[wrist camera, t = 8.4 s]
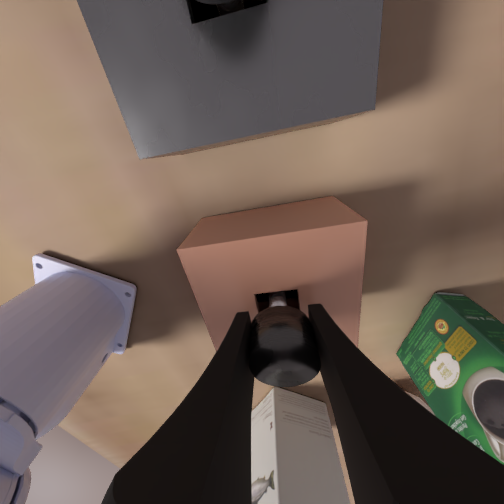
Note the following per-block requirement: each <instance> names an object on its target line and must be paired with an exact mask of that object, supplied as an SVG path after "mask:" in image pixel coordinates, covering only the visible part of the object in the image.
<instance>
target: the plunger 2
mask: <svg viewBox="0 0 504 504" xmlns="http://www.w3.org/2000/svg"><path fill="white" fill-rule="evenodd" d="M320 368H321V359H320V356H319V352H318V349H317V345H316V341H315V338H314V334H313V331H312V327H311V323H310V320H309V318H308V317H307V316H306V314H305V313H303V312H302V311H301V310H299V309H297V308H294V307H290V306H287V302H286V296H285V291H277V292H269V308H266V309H264V310H262V311H261V312H259V313H258V314H257V315H256V316H255V317H254V319H253V320H252V323H251V334H250V351H249V369H250V372H251V373H252V375H253V376H254V377H255V378H256V379H258V380H259V381H261V382H263V383H265V384H268V385H271V386H277V387H293V386H298V385H301V384H304V383H306V382H308V381H310V380H312V379H313V378H314V377H315V376H316V375H317V374H318V373H319V371H320Z"/></svg>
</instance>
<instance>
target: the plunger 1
mask: <svg viewBox="0 0 504 504" xmlns="http://www.w3.org/2000/svg"><path fill="white" fill-rule="evenodd" d="M197 1H199V2H202V3H206V4H216V5H217V8H218V11H219V15H220V16H223V15H226V14H230V13H233V12H237V11H240V10H244V3H243V0H197Z"/></svg>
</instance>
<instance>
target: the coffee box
mask: <svg viewBox="0 0 504 504" xmlns="http://www.w3.org/2000/svg"><path fill="white" fill-rule="evenodd" d="M396 354H397V356H398V357H399V359H400V361H401V362H402V364H403V366H404V368H405V369H406V371H407V372H408V374H409V375H410V377H411V378H412V380H413V381H414V383H415V384H416V386H417V387H418V389H419V391H420V392H421V394H422V395H423V397H424V398H425V400H426V402H427V403H428V405H429V406H430V408H431V410H432V411H433V413H434V414H435V416H436V417H438V418H439V419H440V420H442V421H443V422H444V423H446V424H447V425H448V426H450V427H451V428H452V429H454V430H455V431H456V432H458V433H459V434H460V435H462V436H463V437H465V438H466V439H467V440H469V441H470V442H472V443H473V444H474V445H476V446H477V447H479V448H480V449H481V450H483V451H484V452H486V453H487V454H489V455H490V456H492V457H493V458H494V459H496V460H497V461H499V462H500V463H502V464H503V465H504V324H503V323H501V322H500V321H499V320H498V319H496V318H495V317H494V316H493V315H491V314H490V313H489V312H488V311H486V310H485V309H483V308H482V307H481V306H479V305H478V304H476V303H475V302H474V301H472V300H471V299H470V298H468V297H466V296H465V295H463V294H454V293H444V292H438V293H434V295H433V296H432V298H431V300H430V301H429V302H428V304H427V305H426V306H425V307H424V308H423V310H422V314H421V315H420V317H419V319H418V320H417V322H416V323H415V325H414V326H413V328H412V330H411V331H410V333H409V334H408V336H407V338H405V339H404V341H403V343H402V345H401V347H400V349H399V350H398V352H397V353H396Z"/></svg>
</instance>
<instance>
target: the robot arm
mask: <svg viewBox="0 0 504 504" xmlns="http://www.w3.org/2000/svg"><path fill="white" fill-rule="evenodd" d="M32 260H33V269H34V277H35V285H34V286H32V287H31V288H29V289H27V290H26V291H24V292H22V293H21V294H19V295H18V296H16V297H14V298H13V299H11V300H9V301H8V302H6V303H5V304H3V305H1V306H0V504H25V502H26V499H27V496H28V493H29V489H30V483H31V472H30V469H29V465H30V464H31V463H32V461H33V460H34V458H35V457H36V456H37V454H38V453H39V451H40V450H41V448H42V445H41V444H39V443H38V442H37V441H36V440H37V439H38V438H40V437H42V436H43V435H45V434H46V433H48V432H49V431H50V430H52V429H53V428H54V427H55V426H56V425H58V424H59V423H60V422H61V421H62V420H63V419H64V418H65V417H66V416H67V414H68V413H69V412H70V410H71V409H72V408H73V406H74V405H75V404H76V402H77V401H78V399H79V398H80V397H81V395H82V394H83V392H84V391H85V390H86V388H87V387H88V385H89V384H90V383H91V381H92V380H93V378H94V377H95V376H96V374H97V373H98V372H99V370H100V369H101V367H102V366H103V365H104V363H105V362H106V360H107V359H108V358H109V356H110V355H111V353H112V352H114V353H117V354H123V353H124V351H125V350H126V345H127V339H128V334H129V329H130V323H131V318H132V313H133V307H134V302H135V297H136V291H137V288H136V286H135V285H134V284H132V283H129V282H126V281H123V280H120V279H117V278H113V277H110V276H107V275H104V274H101V273H98V272H95V271H92V270H89V269H86V268H83V267H80V266H77V265H74V264H71V263H68V262H65V261H62V260H59V259H56V258H53V257H50V256H47V255H44V254H41V253H39V254H36V255H34V256H33V258H32ZM129 293H130V294H129ZM308 315H309V320H310V323H311V327H312V331H313V334H314V338H315V341H316V345H317V349H318V352H319V356H320V359H321V368H320V372H321V375H322V378H323V381H324V384H325V387H326V390H327V393H328V396H329V399H330V402H331V406H332V409H333V413H334V416H335V421H336V425H337V429H338V433H339V437H340V441H341V445H342V449H343V453H344V457H345V462H346V466H347V470H348V474H349V479H350V483H351V487H352V491H353V496H354V500H355V504H504V465H503V464H502V463H500V462H499V461H497V460H496V459H494V458H493V457H492V456H490V455H489V454H487V453H486V452H484V451H483V450H481V449H480V448H479V447H477V446H476V445H474V444H473V443H472V442H470V441H469V440H467V439H466V438H465V437H463V436H462V435H460V434H459V433H458V432H456V431H455V430H454V429H452V428H451V427H450V426H448V425H447V424H446V423H444V422H443V421H442V420H440V419H439V418H438V417H436V416H435V415H433V414H432V413H431V412H430V411H428V410H427V409H426V408H425V407H423V406H422V405H421V404H420V403H418V402H417V401H416V400H415V399H414V398H412V397H411V396H410V395H409V394H407V393H406V392H405V391H404V390H402V389H401V388H400V387H399V386H398V385H397V384H395V383H394V382H393V381H392V380H391V379H390V378H388V377H387V376H386V375H385V374H384V373H383V372H382V371H381V370H380V369H379V368H377V367H376V366H375V365H374V364H373V363H372V362H371V361H370V360H369V359H368V358H367V357H366V356H365V355H364V354H363V353H362V352H361V351H360V350H359V349H358V348H357V347H356V346H355V345H354V343H353V342H352V341H351V340H350V339H349V338H348V337H347V336H346V335H345V333H344V332H343V331H342V330H341V329H340V328H339V326H338V325H337V324H336V323H335V322H334V320H333V319H332V318H331V316H330V315H329V314H328V312H327V311H326V310H325V308H324V307H323V305H322V304H320V303H319V304H310V305H308ZM250 334H251V319H250V315H249V311H245V312H237V313H236V315H235V317H234V319H233V321H232V324H231V326H230V328H229V330H228V332H227V334H226V336H225V337H224V339H223V341H222V343H221V345H220V347H219V348H218V350H217V352H216V354H215V355H214V357H213V358H212V360H211V362H210V363H209V365H208V367H207V368H206V370H205V371H204V373H203V374H202V376H201V377H200V378H199V380H198V381H197V383H196V384H195V386H194V387H193V388H192V390H191V391H190V392H189V393H188V395H187V396H186V397H185V399H184V400H183V401H182V403H181V404H180V405H179V406H178V407H177V409H176V410H175V411H174V412H173V414H172V415H171V416H170V417H169V418H168V419H167V420H166V421H165V423H164V424H163V425H162V426H161V427H160V428H159V429H158V431H157V432H156V433H155V434H154V435H153V436H152V437H151V438H150V439H149V441H148V442H147V443H146V444H145V445H144V446H143V447H142V448H141V449H140V450H139V451H138V452H137V453H136V454H135V455H134V456H133V457H132V458H131V459H130V460H129V461H128V462H127V463H126V464H125V465H124V466H123V467H122V468H121V469H120V470H119V471H118V472H117V473H116V474H115V476H114V478H113V480H112V482H111V484H110V486H109V488H108V490H107V492H106V494H105V497H104V499H103V501H102V503H101V504H252V489H251V412H252V398H253V386H254V376H253V375H252V373H251V372H250V369H249V351H250Z"/></svg>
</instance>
